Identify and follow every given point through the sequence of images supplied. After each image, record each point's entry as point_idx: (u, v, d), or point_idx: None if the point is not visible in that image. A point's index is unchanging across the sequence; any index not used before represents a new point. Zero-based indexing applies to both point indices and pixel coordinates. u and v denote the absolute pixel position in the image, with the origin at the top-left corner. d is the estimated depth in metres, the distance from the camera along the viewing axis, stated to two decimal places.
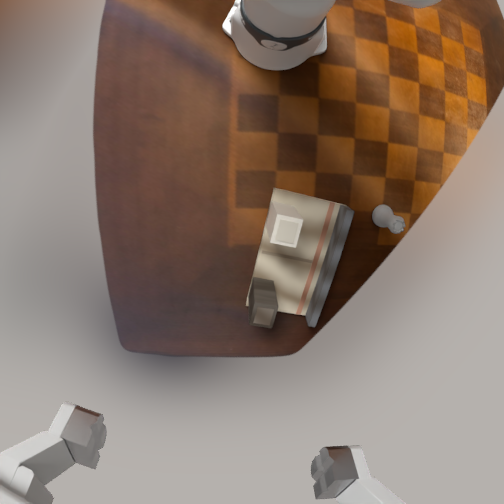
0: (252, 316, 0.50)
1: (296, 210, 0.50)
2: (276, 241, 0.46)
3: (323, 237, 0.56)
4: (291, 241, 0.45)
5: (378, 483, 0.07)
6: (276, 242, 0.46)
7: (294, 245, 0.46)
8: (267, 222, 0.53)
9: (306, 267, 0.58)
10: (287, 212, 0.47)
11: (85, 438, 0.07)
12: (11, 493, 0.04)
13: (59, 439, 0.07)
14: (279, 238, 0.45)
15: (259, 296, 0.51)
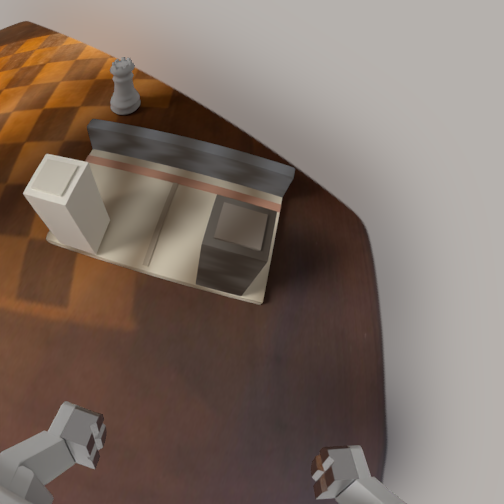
0: (242, 251, 0.20)
1: None
2: (66, 194, 0.19)
3: (136, 168, 0.32)
4: (72, 168, 0.19)
5: (378, 483, 0.07)
6: (68, 194, 0.19)
7: (83, 164, 0.20)
8: (84, 246, 0.26)
9: (185, 192, 0.32)
10: None
11: (85, 438, 0.07)
12: (11, 493, 0.04)
13: (59, 439, 0.07)
14: (61, 188, 0.19)
15: None
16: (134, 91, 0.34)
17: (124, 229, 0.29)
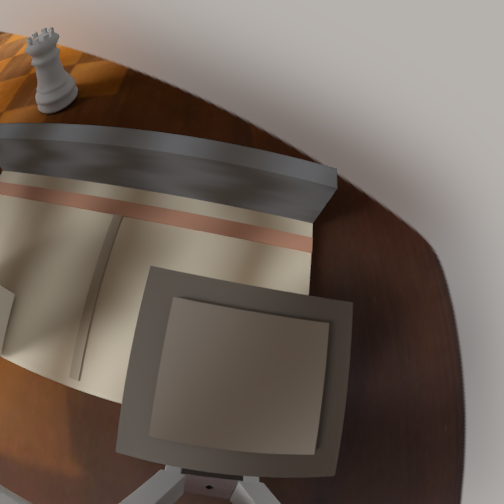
0: (254, 467, 0.05)
1: None
2: None
3: (55, 194, 0.17)
4: None
5: (268, 491, 0.07)
6: None
7: None
8: None
9: (135, 231, 0.17)
10: None
11: None
12: (11, 493, 0.04)
13: (181, 475, 0.07)
14: None
15: None
16: (65, 76, 0.19)
17: (36, 310, 0.14)
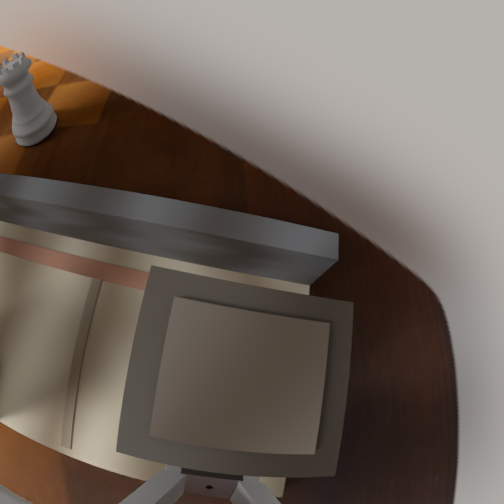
0: (254, 467, 0.05)
1: None
2: None
3: (32, 250, 0.15)
4: None
5: (268, 491, 0.07)
6: None
7: None
8: None
9: (115, 298, 0.15)
10: None
11: None
12: (11, 493, 0.04)
13: (181, 475, 0.07)
14: None
15: None
16: (41, 104, 0.18)
17: (23, 377, 0.12)
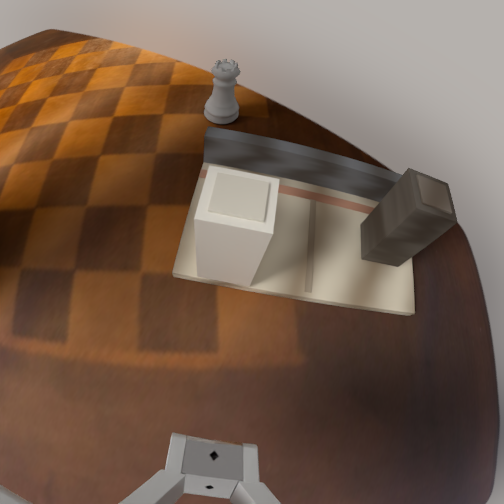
0: (442, 214, 0.20)
1: None
2: (268, 219, 0.17)
3: None
4: (263, 185, 0.18)
5: (268, 491, 0.07)
6: (270, 219, 0.18)
7: (274, 181, 0.19)
8: (241, 279, 0.24)
9: (325, 209, 0.31)
10: None
11: (208, 468, 0.07)
12: (11, 493, 0.04)
13: (181, 475, 0.07)
14: (259, 211, 0.17)
15: (399, 214, 0.22)
16: (234, 98, 0.34)
17: (274, 254, 0.28)
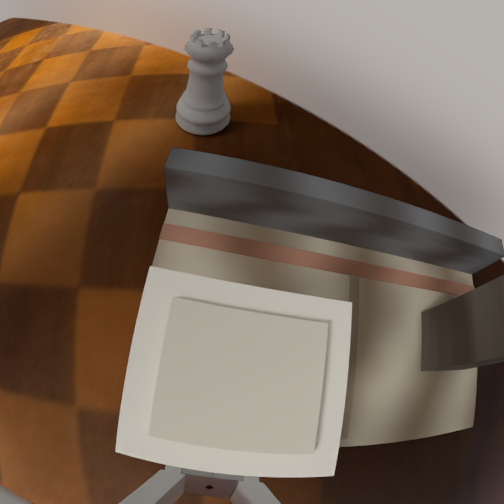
0: None
1: None
2: (324, 440, 0.05)
3: (276, 250, 0.18)
4: (313, 337, 0.06)
5: (268, 491, 0.07)
6: (330, 437, 0.05)
7: (338, 312, 0.06)
8: None
9: (373, 291, 0.18)
10: None
11: None
12: (11, 493, 0.04)
13: (181, 475, 0.07)
14: (301, 427, 0.05)
15: None
16: (224, 93, 0.21)
17: None
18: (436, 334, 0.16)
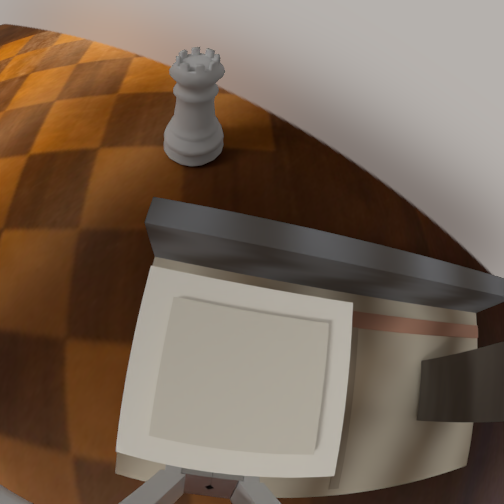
0: None
1: None
2: (324, 440, 0.05)
3: None
4: (313, 338, 0.06)
5: (268, 491, 0.07)
6: (331, 438, 0.05)
7: (339, 312, 0.06)
8: None
9: (372, 343, 0.17)
10: None
11: None
12: (11, 493, 0.04)
13: (181, 475, 0.07)
14: (301, 427, 0.05)
15: None
16: (215, 119, 0.19)
17: None
18: (435, 387, 0.14)
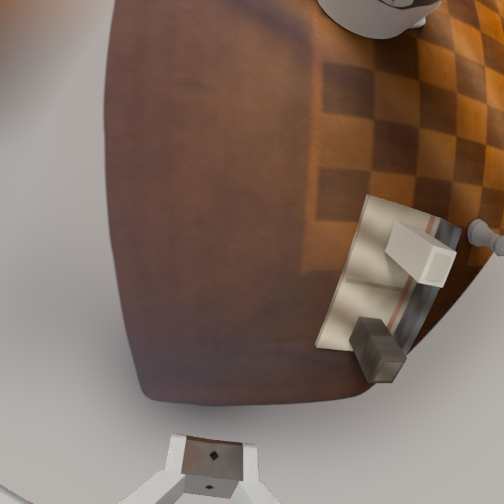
0: (375, 373, 0.34)
1: (430, 235, 0.34)
2: (425, 281, 0.30)
3: None
4: (441, 279, 0.30)
5: (268, 491, 0.07)
6: (425, 282, 0.30)
7: (442, 284, 0.30)
8: (391, 249, 0.37)
9: (395, 297, 0.42)
10: (432, 240, 0.31)
11: (208, 468, 0.07)
12: (11, 493, 0.04)
13: (181, 475, 0.07)
14: (430, 277, 0.29)
15: (381, 346, 0.36)
16: (483, 245, 0.37)
17: (372, 261, 0.40)
18: (374, 323, 0.41)
